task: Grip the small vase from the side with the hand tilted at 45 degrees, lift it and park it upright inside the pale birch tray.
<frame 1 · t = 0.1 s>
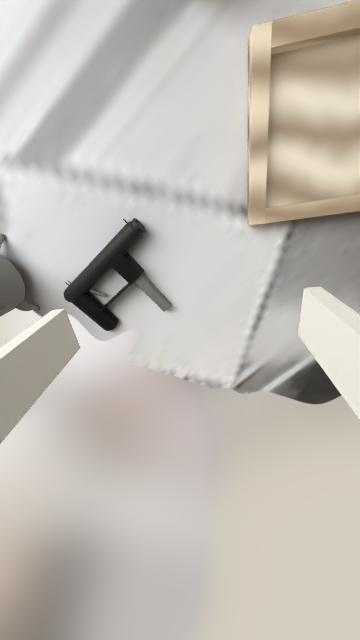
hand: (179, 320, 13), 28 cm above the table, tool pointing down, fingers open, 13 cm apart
mug: (0, 273, 43), on the table
tray: (326, 131, 29), on the table
door handle: (127, 285, 42), on the table
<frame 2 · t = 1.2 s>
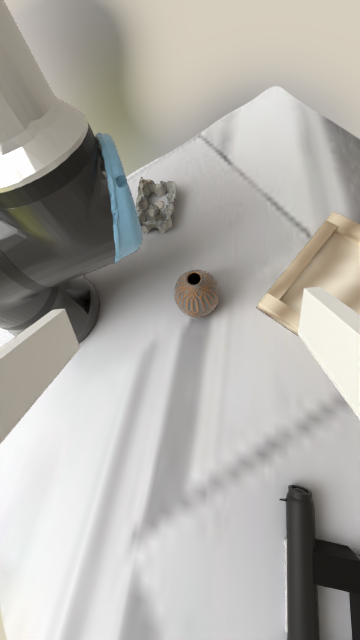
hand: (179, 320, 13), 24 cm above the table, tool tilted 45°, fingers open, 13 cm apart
egg carton: (159, 213, 46), on the table
vase: (198, 303, 38), on the table
tray: (350, 297, 35), on the table
door handle: (347, 594, 25), on the table
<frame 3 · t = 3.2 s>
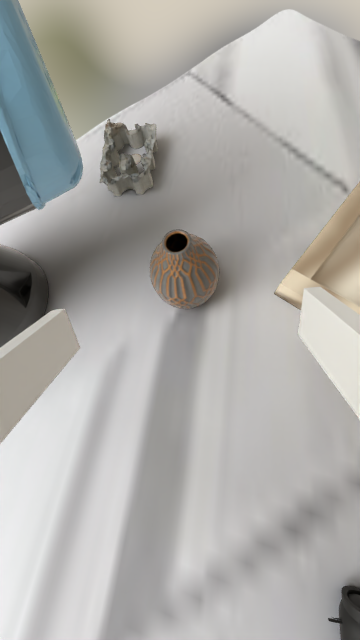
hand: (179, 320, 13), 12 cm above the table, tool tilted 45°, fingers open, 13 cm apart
egg carton: (135, 170, 34), on the table
vase: (188, 288, 26), on the table
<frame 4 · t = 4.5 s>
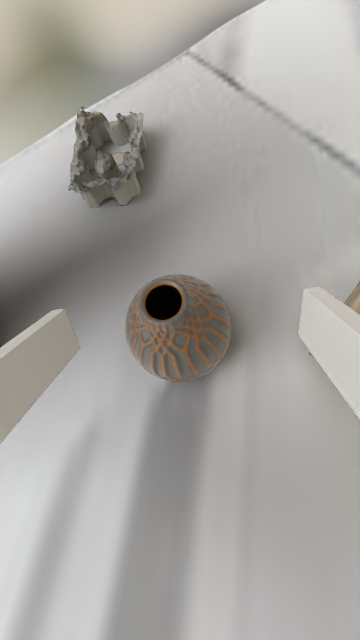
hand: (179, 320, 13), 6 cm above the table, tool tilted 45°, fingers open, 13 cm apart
egg carton: (118, 173, 26), on the table
vase: (186, 340, 19), on the table
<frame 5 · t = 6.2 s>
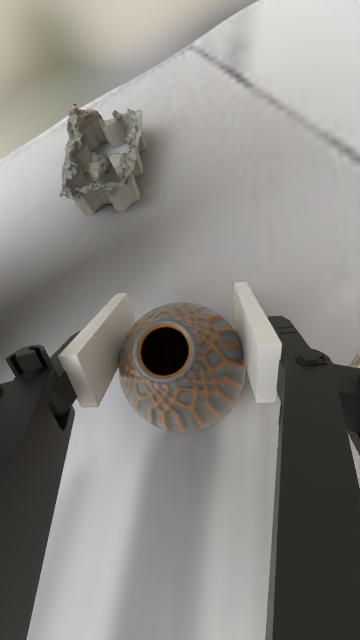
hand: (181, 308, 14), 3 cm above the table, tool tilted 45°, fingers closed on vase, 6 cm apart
egg carton: (115, 177, 24), on the table
vase: (190, 370, 17), on the table, touching gripper
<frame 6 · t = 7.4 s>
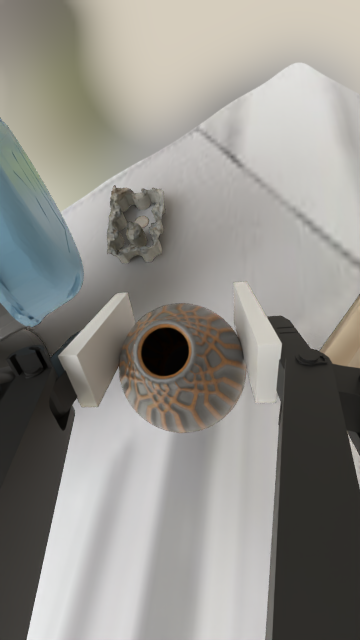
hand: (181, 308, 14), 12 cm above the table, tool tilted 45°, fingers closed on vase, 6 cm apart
egg carton: (142, 233, 33), on the table
vase: (190, 370, 17), point 9 cm above the table, touching gripper
when the fingers open (6 cm above the table, at t = 11.7 s): vase drops 1 cm, resting on tray.
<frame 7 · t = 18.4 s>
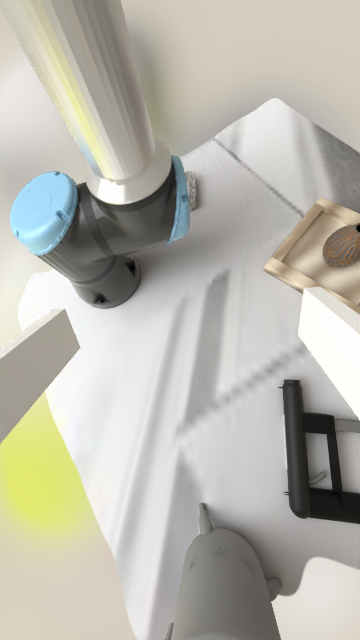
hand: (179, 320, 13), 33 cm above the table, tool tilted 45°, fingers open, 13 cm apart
egg carton: (182, 198, 57), on the table
mug: (216, 562, 35), on the table
vase: (335, 258, 45), point 1 cm above the table, touching tray
tray: (333, 259, 46), on the table
door handle: (326, 444, 37), on the table
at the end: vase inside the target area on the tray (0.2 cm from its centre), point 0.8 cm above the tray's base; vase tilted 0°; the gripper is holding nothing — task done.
